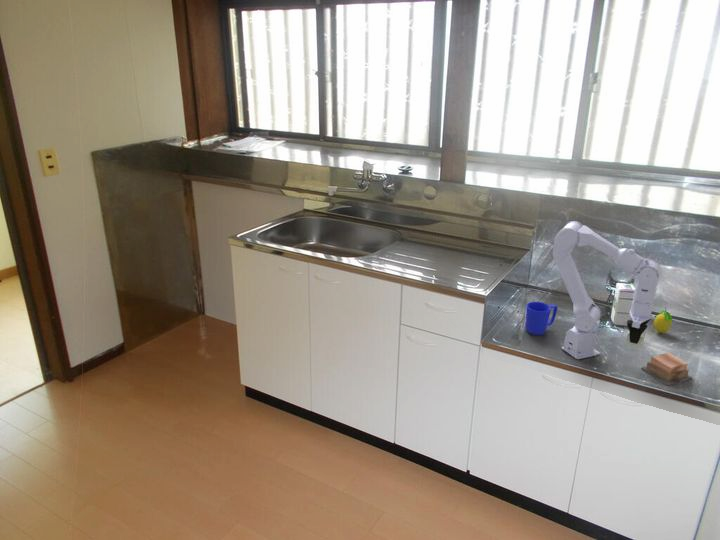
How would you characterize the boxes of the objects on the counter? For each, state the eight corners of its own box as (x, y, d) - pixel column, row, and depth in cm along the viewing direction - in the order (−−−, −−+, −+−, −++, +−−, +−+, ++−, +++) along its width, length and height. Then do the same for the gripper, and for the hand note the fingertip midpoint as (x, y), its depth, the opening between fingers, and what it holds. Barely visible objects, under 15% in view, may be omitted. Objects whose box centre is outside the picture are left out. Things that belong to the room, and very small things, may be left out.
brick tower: (667, 385, 166) (671, 371, 164) (640, 369, 175) (644, 355, 173) (691, 379, 170) (695, 365, 168) (664, 363, 178) (667, 349, 176)
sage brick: (640, 348, 172) (643, 337, 170) (625, 344, 174) (627, 333, 173) (643, 342, 175) (645, 331, 174) (627, 338, 178) (630, 327, 176)
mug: (561, 333, 197) (565, 307, 193) (533, 339, 193) (536, 313, 189) (545, 323, 204) (549, 298, 200) (518, 328, 200) (521, 303, 196)
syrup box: (630, 326, 202) (637, 289, 196) (612, 324, 203) (619, 288, 197) (626, 319, 207) (633, 283, 202) (609, 317, 208) (616, 282, 203)
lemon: (668, 339, 193) (674, 313, 189) (649, 334, 196) (655, 309, 192) (671, 332, 198) (677, 306, 194) (653, 327, 201) (659, 302, 197)
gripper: (654, 312, 161) (645, 352, 167) (661, 295, 173) (652, 333, 178) (628, 306, 165) (620, 346, 170) (636, 289, 176) (628, 327, 181)
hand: (635, 339), depth 174 cm, fingers closed on sage brick, 4 cm apart
